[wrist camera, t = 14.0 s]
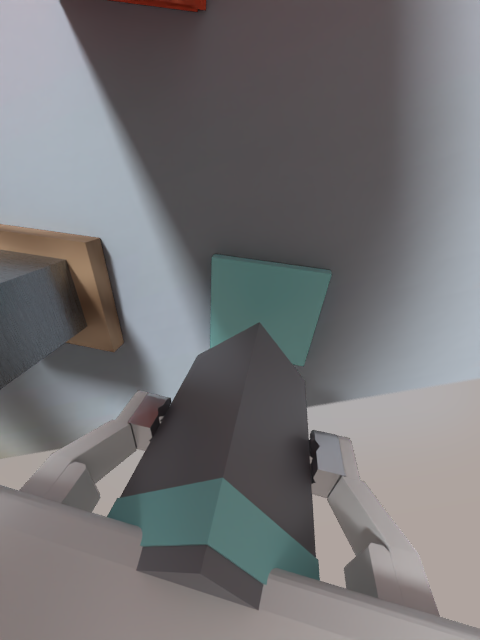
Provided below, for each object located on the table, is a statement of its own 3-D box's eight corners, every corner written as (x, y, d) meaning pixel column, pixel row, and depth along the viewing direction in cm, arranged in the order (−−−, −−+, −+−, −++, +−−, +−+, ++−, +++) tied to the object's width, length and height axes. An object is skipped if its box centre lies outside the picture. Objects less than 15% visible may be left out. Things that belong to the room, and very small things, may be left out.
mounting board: (-74, 213, 20) (-99, 216, 18) (99, 238, 18) (85, 242, 16) (-15, 315, 25) (-31, 323, 24) (123, 342, 23) (114, 352, 22)
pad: (214, 254, 17) (211, 257, 16) (330, 270, 16) (331, 274, 15) (212, 343, 21) (210, 348, 20) (303, 360, 20) (303, 366, 19)
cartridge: (196, 355, 14) (79, 567, 6) (259, 320, 12) (200, 572, 4) (242, 404, 15) (192, 625, 8) (306, 380, 13) (324, 650, 6)
